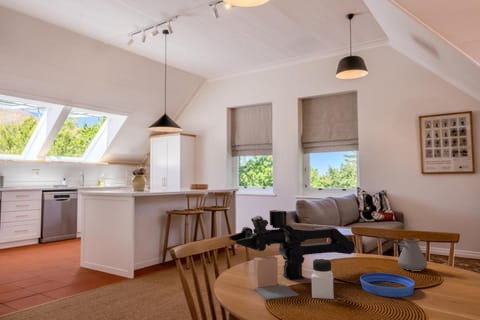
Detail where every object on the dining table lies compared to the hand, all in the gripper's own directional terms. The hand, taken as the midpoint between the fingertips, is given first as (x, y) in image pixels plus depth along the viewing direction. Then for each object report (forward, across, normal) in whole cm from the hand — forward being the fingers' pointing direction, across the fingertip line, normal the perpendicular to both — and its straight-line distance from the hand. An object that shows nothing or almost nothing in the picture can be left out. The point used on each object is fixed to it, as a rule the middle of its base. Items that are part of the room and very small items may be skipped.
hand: (232, 239), depth 132 cm
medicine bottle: (-25, +22, +17) cm, 38 cm away
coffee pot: (-73, +7, +17) cm, 76 cm away
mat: (-11, +14, +17) cm, 25 cm away
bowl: (-50, +24, +17) cm, 58 cm away
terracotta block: (-11, +5, +17) cm, 21 cm away
